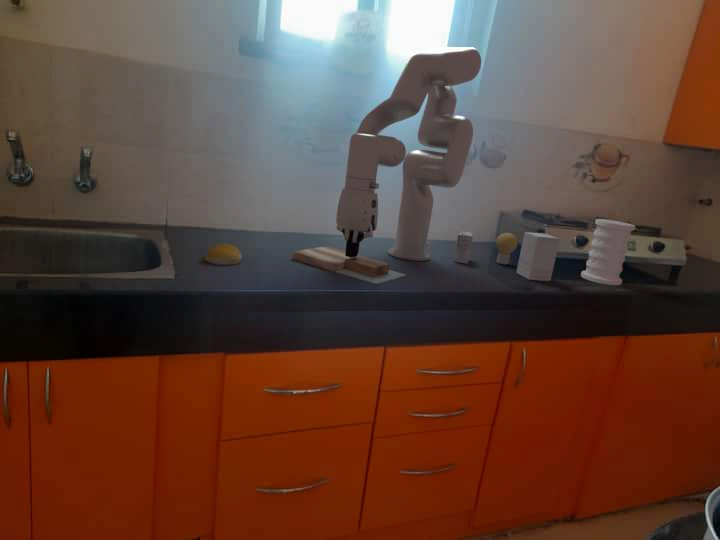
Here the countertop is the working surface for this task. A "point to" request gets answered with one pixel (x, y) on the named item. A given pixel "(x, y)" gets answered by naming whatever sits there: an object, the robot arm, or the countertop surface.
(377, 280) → the teal mat
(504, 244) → the light bulb
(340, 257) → the ash deck
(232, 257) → the bread roll
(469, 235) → the medicine box
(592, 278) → the decorative container
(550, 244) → the supplement box
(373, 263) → the walnut tile
